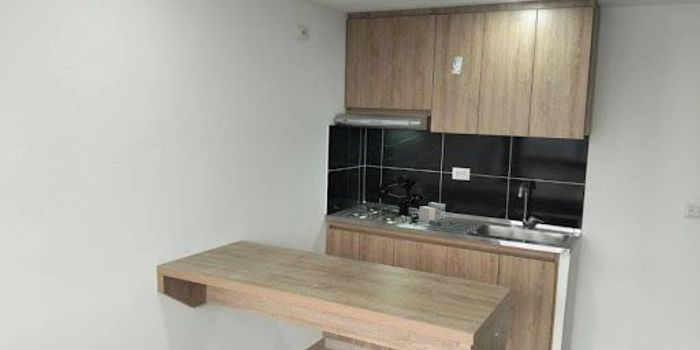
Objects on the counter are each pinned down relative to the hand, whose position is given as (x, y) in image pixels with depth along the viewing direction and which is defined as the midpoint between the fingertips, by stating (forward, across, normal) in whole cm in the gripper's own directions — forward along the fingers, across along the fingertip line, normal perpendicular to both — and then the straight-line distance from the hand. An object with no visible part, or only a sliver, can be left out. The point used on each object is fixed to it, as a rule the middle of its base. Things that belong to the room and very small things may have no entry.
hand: (419, 209), depth 377 cm
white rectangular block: (+10, 0, -1) cm, 10 cm away
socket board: (+15, 0, -4) cm, 16 cm away
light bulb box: (+6, +17, +5) cm, 19 cm away
